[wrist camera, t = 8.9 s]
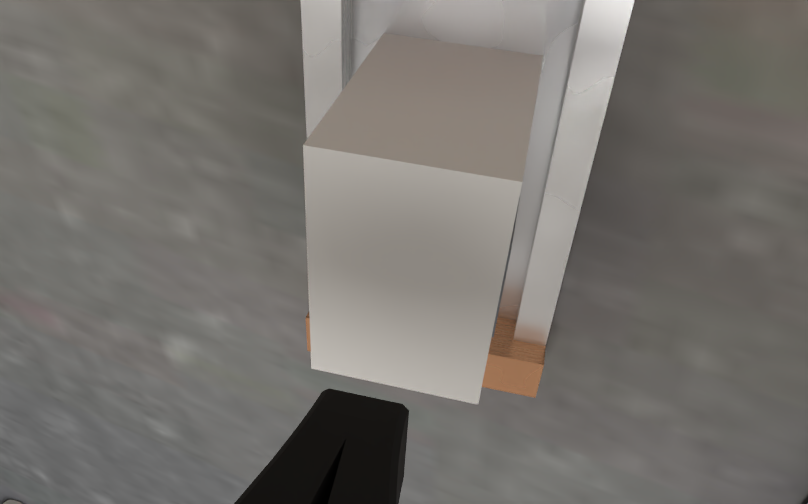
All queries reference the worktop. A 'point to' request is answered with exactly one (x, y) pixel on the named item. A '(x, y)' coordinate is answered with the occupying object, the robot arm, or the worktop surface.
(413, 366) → the block
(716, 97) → the worktop surface
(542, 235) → the rail
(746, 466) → the worktop surface
